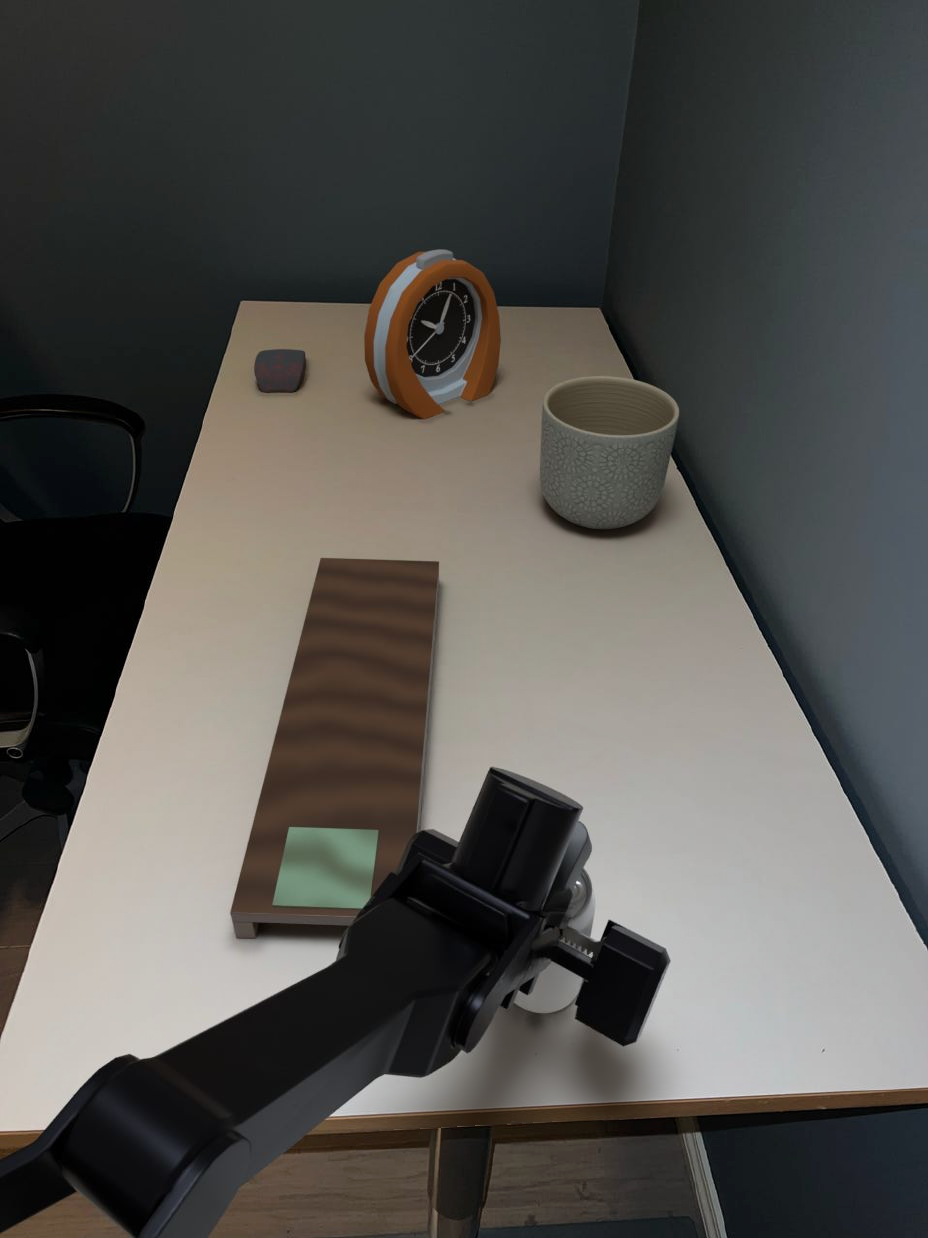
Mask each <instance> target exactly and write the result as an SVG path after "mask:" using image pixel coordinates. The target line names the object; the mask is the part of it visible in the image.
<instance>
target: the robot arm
mask: <svg viewBox="0 0 928 1238" xmlns="http://www.w3.org/2000/svg"><path fill="white" fill-rule="evenodd" d="M583 811H584V806H583V805H582V804H581V803H579V802H578V801H576V800H574V799H573V798H571V797H570V796H567V795H566V794H564V793H562V792H560V791H558V790H555V789H554V788H552V787H550V786H547V785H545V784H543V783H540V782H538V781H536V780H533V779H531V778H529V777H526V776H524V775H521V774H518V773H517V772H513V771H511V770H508V769H505V768H499V767H496V766H489V770H487V773H486V775H485V778H484V780H483V783H482V785H481V788H480V789H479V792H478V795H477V797H476V800H475V802H474V805H473V807H472V809H471V812H470V815H469V816H468V818H467V821H466V824H465V826H464V829H463V831H462V834H461V836H460V839H459V841H457V840H456V839H454V838H452V837H450V836H447V835H446V834H444V833H442V832H440V831H438V830H436V829H434V828H430V829H423V830H419V832H418V833H416V834H414V835H413V837H412V838H411V839H410V840H409V842H408V844H407V846H406V848H405V851H404V853H403V856H402V858H401V861H400V863H399V865H398V868H397V870H396V873H393V872H390V873H389V875H388V876H387V877H386V879H385V880H384V881H383V883H382V884H381V885H380V886H379V888H378V889H377V890H376V892H375V893H374V894H373V896H372V897H371V898H370V899H369V901H368V902H367V903H366V905H365V906H364V907H363V908H362V910H361V911H360V912H359V914H358V915H357V916H356V918H355V919H354V920H353V921H352V923H351V924H350V925H347V928H346V929H345V930H344V932H343V933H342V935H341V938H340V941H339V944H338V951H337V955H336V958H335V961H333V962H332V963H331V964H329V965H328V966H326V967H324V968H322V969H320V970H318V971H316V972H314V973H312V974H311V975H309V976H306V977H305V978H303V979H301V980H299V981H297V982H295V983H293V984H291V985H289V986H287V987H285V988H283V989H281V990H280V991H277V992H276V993H274V994H272V995H269V996H268V997H266V998H264V999H262V1000H260V1001H259V1002H257V1003H254V1004H253V1005H250V1006H249V1007H247V1008H245V1009H243V1010H241V1011H239V1012H237V1013H236V1014H233V1015H232V1016H230V1017H228V1018H226V1019H224V1020H222V1021H220V1022H218V1023H217V1024H214V1025H212V1026H210V1027H208V1028H207V1029H204V1030H203V1031H201V1032H199V1033H197V1034H195V1035H193V1036H191V1037H189V1038H187V1039H186V1040H182V1041H181V1042H179V1043H177V1044H176V1045H174V1046H172V1047H170V1048H168V1049H166V1050H164V1051H162V1052H160V1053H158V1054H156V1055H154V1056H150V1057H146V1058H145V1057H144V1058H139V1057H138V1056H137V1055H134V1054H131V1053H127V1054H123V1055H120V1056H116V1057H114V1058H113V1059H111V1060H110V1061H108V1062H107V1063H105V1064H104V1065H102V1066H101V1067H99V1068H98V1069H97V1070H96V1071H95V1072H94V1073H93V1074H92V1075H91V1076H90V1077H89V1078H88V1079H87V1080H86V1081H85V1082H84V1083H83V1084H82V1085H81V1086H80V1087H79V1088H78V1090H77V1091H76V1092H75V1093H74V1094H73V1095H72V1097H71V1098H70V1099H69V1100H68V1102H67V1103H66V1104H65V1105H63V1107H62V1109H61V1110H60V1111H59V1112H58V1113H57V1114H56V1116H55V1117H54V1118H53V1119H52V1120H51V1122H50V1123H49V1124H48V1125H47V1126H46V1128H45V1129H44V1130H43V1131H42V1132H41V1134H39V1136H38V1137H37V1138H36V1139H35V1140H34V1141H32V1142H31V1143H29V1144H26V1145H25V1146H23V1147H21V1148H19V1149H18V1150H15V1151H14V1152H12V1153H10V1154H8V1155H6V1156H4V1157H2V1158H1V1159H0V1235H1V1234H2V1233H4V1232H6V1231H8V1230H10V1229H12V1228H14V1227H15V1226H17V1225H19V1224H21V1223H23V1222H24V1221H27V1220H29V1219H30V1218H32V1217H34V1216H35V1215H37V1214H40V1213H41V1212H43V1211H44V1210H47V1209H49V1208H50V1207H52V1206H54V1205H55V1204H58V1203H59V1202H61V1201H63V1200H64V1199H67V1198H68V1197H70V1196H71V1195H74V1194H76V1193H78V1194H80V1195H81V1196H82V1197H83V1198H84V1199H86V1200H87V1201H88V1202H89V1203H90V1204H91V1205H92V1206H94V1207H95V1208H96V1209H97V1210H98V1211H99V1212H100V1213H101V1214H102V1215H104V1216H105V1217H106V1218H108V1219H109V1220H110V1221H111V1222H112V1223H113V1224H115V1225H116V1226H117V1227H118V1228H119V1229H120V1230H121V1231H122V1232H124V1233H125V1234H126V1235H127V1236H129V1237H130V1238H209V1236H210V1235H211V1234H212V1232H213V1231H214V1229H215V1228H216V1226H217V1225H218V1223H219V1222H220V1220H221V1219H222V1218H223V1216H224V1214H225V1213H226V1211H227V1210H228V1208H229V1206H230V1205H231V1203H232V1201H233V1200H234V1198H235V1196H236V1195H237V1193H238V1192H239V1190H240V1188H241V1187H243V1186H244V1185H245V1184H247V1183H248V1182H249V1181H250V1180H251V1179H253V1178H254V1177H255V1176H257V1175H258V1174H259V1173H260V1172H261V1171H263V1170H264V1169H265V1168H266V1167H268V1166H269V1165H270V1164H272V1163H273V1162H274V1161H275V1160H276V1159H278V1158H279V1157H280V1156H282V1155H283V1154H284V1153H285V1152H287V1151H288V1150H289V1149H290V1148H292V1147H293V1146H294V1145H295V1144H296V1143H298V1142H299V1141H300V1140H301V1139H303V1138H304V1137H305V1136H307V1135H308V1134H309V1133H310V1132H312V1131H313V1130H314V1129H315V1128H316V1127H318V1126H319V1125H320V1124H322V1123H323V1122H324V1121H326V1120H327V1119H328V1118H329V1117H330V1116H331V1115H333V1114H334V1113H336V1111H338V1110H339V1109H340V1108H342V1107H343V1106H344V1105H346V1104H347V1103H348V1102H349V1101H351V1100H352V1099H353V1098H354V1097H355V1096H357V1095H358V1094H359V1093H361V1092H362V1091H363V1090H364V1089H365V1088H366V1087H368V1086H369V1085H371V1084H372V1083H373V1082H374V1081H376V1080H377V1079H378V1078H380V1077H382V1076H384V1075H387V1076H388V1075H389V1076H398V1077H409V1078H417V1079H418V1078H420V1079H421V1078H425V1077H428V1076H430V1075H432V1074H434V1073H435V1072H437V1071H438V1070H440V1069H441V1068H444V1067H445V1066H446V1065H448V1064H449V1063H451V1062H452V1061H453V1060H455V1059H456V1057H457V1056H458V1055H459V1054H460V1053H461V1052H463V1053H465V1054H469V1053H471V1052H472V1051H473V1050H474V1049H475V1048H476V1047H477V1045H478V1044H479V1043H480V1041H481V1040H482V1038H483V1036H484V1035H485V1033H486V1031H487V1030H488V1028H489V1026H490V1025H491V1023H492V1021H493V1019H494V1017H495V1015H496V1014H497V1012H498V1010H499V1008H500V1007H501V1008H503V1009H504V1010H509V1009H510V1008H512V1007H513V1005H514V1004H515V1003H514V1000H515V998H516V995H517V993H518V990H519V991H520V992H522V993H524V994H526V995H529V994H530V993H532V991H533V988H534V986H535V983H536V981H537V978H538V976H539V974H540V973H541V972H542V971H543V970H545V969H546V968H547V967H548V966H549V965H550V963H551V962H554V963H556V964H558V965H560V966H562V967H563V968H565V969H567V970H569V971H571V972H573V973H574V974H576V975H578V976H580V977H582V978H583V979H582V983H581V987H580V990H579V993H578V994H577V996H576V998H575V1002H574V1006H576V1010H575V1016H574V1020H576V1021H578V1022H579V1023H581V1024H583V1025H585V1026H586V1027H588V1028H589V1029H592V1030H593V1031H595V1032H597V1033H599V1034H600V1035H602V1036H604V1037H606V1038H607V1039H609V1040H611V1041H612V1042H615V1043H616V1044H618V1045H620V1046H621V1047H624V1048H625V1047H627V1046H629V1045H633V1044H635V1043H637V1041H638V1040H639V1038H640V1037H641V1036H642V1034H643V1031H644V1028H645V1027H646V1024H647V1021H648V1018H649V1017H650V1014H651V1012H652V1009H653V1007H654V1004H655V1001H656V999H657V996H658V993H659V991H660V989H661V986H662V984H663V982H664V980H665V977H666V974H667V971H668V968H669V966H670V964H671V962H672V961H671V958H670V955H669V953H668V951H667V948H666V947H664V946H662V945H660V944H658V943H657V942H654V941H653V940H650V939H648V938H647V937H644V936H642V935H641V934H638V933H637V932H635V931H634V930H633V931H632V930H631V929H629V928H628V927H625V926H624V925H622V924H619V923H617V922H616V921H614V920H612V919H608V920H607V923H606V925H605V927H604V930H603V932H602V935H601V937H600V940H596V939H595V938H593V937H589V936H587V935H585V934H583V933H581V932H579V931H577V930H576V929H574V928H572V927H570V926H568V923H569V920H570V918H571V915H572V913H573V910H574V908H573V907H571V906H569V905H570V903H571V900H572V898H573V893H572V890H573V888H574V886H575V884H576V882H577V880H578V878H579V876H580V874H581V872H582V870H583V868H584V869H585V866H586V864H587V862H588V861H589V860H590V856H591V855H592V852H593V844H592V841H591V837H590V835H589V832H588V829H587V827H586V825H585V824H584V823H583V822H582V821H580V818H581V815H582V813H583ZM563 938H565V943H568V941H569V940H570V946H573V945H574V944H575V943H576V949H578V948H579V947H580V946H581V952H580V951H578V950H576V949H574V948H572V947H570V946H569V945H567V944H565V943H563V942H561V941H559V940H562V939H563ZM586 949H587V955H585V954H584V953H582V952H584V951H585V950H586ZM590 954H592V957H591V956H590Z"/></svg>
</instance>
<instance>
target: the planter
mask: <svg viewBox="0 0 928 1238" xmlns="http://www.w3.org/2000/svg"><path fill="white" fill-rule="evenodd" d="M679 418H680V407H679V405H678V404H677V402H676V400H675V399H674V398H673V397H672V396H671V395H670V394H669V393H667V392H665V391H664V390H662V389H661V388H659V387H658V386H657V387H656V386H655V385H653V384H650V383H647V382H643V381H641V380H638V379H637V380H636V379H632V378H627V377H621V376H611V375H590V376H589V375H588V376H582V377H581V376H580V377H575V378H571V379H567V380H564V381H562V382H559V383H557V384H555V385H554V386H552V387H551V388H549V389H548V390H547V392H546V393H545V394H544V396H543V399H542V407H541V422H540V423H541V427H540V452H539V453H540V454H539V482H540V483H539V484H540V488H541V492H542V495H543V498H544V499H545V501H546V502H547V504H548V505H549V507H550V508H551V509H552V510H553V511H554V512H555V513H557V514H558V515H559V516H560V517H562V518H563V519H565V520H566V521H568V522H570V523H572V524H575V525H577V526H580V527H584V528H588V529H594V530H614V529H619V528H624V527H627V526H630V525H632V524H634V523H636V522H638V521H640V520H642V519H643V518H645V517H646V516H647V515H648V514H649V513H651V511H652V510H653V509H654V508H655V506H656V505H657V504H658V502H659V500H660V498H661V497H662V492H663V489H664V486H665V482H666V479H667V473H668V470H669V465H670V461H671V460H670V459H671V455H672V451H673V448H674V442H675V438H676V433H677V429H678V424H679Z"/></svg>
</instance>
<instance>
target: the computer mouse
mask: <svg viewBox="0 0 928 1238" xmlns="http://www.w3.org/2000/svg"><path fill="white" fill-rule="evenodd" d="M305 367H306V352H305V350H302V349H290V348H274V349H263V350H260V351H259V352H258V353H257V354H256V357H255V359H254V365H253V372H254V377H255V380H256V382H257V384H258V387H259V388H260V390H261V392H263V393H294V392H296V391H297V390H298V389H299V387H300V386H301V384H302V382H303V378H304V374H305V369H306V368H305Z"/></svg>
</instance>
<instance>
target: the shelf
mask: <svg viewBox="0 0 928 1238" xmlns="http://www.w3.org/2000/svg"><path fill="white" fill-rule="evenodd" d="M439 592H440V561H437V560H435V561H434V560H408V559H378V558H377V559H375V558H374V559H373V558H372V559H371V558H346V557H345V558H343V557H342V558H340V557H336V558H335V557H320V558H319V563H318V567H317V570H316V575H315V577H314V582H313V587H312V590H311V593H310V598H309V602H308V606H307V610H306V614H305V617H304V618H305V619H304V621H303V625H302V629H301V633H300V637H299V641H298V645H297V649H296V652H295V656H294V659H293V660H294V661H293V664H292V669H291V673H290V677H289V680H288V685H287V687H286V691H285V696H284V700H283V704H282V706H281V712H280V716H279V719H278V723H277V727H276V731H275V735H274V739H273V744H272V746H271V750H270V755H269V759H268V762H267V766H266V771H265V774H264V779H263V782H262V786H261V790H260V794H259V799H258V802H257V806H256V809H255V813H254V817H253V822H252V825H251V828H250V833H249V837H248V841H247V845H246V849H245V853H244V857H243V861H242V864H241V869H240V872H239V876H238V880H237V884H236V887H235V893H234V896H233V900H232V904H231V908H230V912H229V915H230V919H231V923H232V926H233V930H234V934H235V938H237V939H256V938H257V934H258V930H259V926H260V923H267V924H293V925H294V924H296V925H324V926H349V925H350V924H351V923H352V921H353V920H354V919H355V918H356V916H357V915H358V914H359V912H360V911H361V910H362V908H363V907H364V906H365V905H366V903H367V902H368V901H369V899H370V898H371V897H372V896H373V894H374V893H375V892H376V890H377V889H378V888H379V886H380V885H381V884H382V883H383V881H384V880H385V879H386V877H387V876H388V875H389V873H390V872H393V873H396V870H397V868H398V865H399V863H400V861H401V858H402V856H403V853H404V851H405V848H406V846H407V844H408V842H409V840H410V839H411V838H412V837H413V835H414V834H416V833H418V832H420V825H421V815H422V802H423V790H424V777H425V764H426V752H427V741H428V729H429V727H428V726H429V715H430V703H431V689H432V680H433V679H432V678H433V668H434V667H433V665H434V653H435V642H436V629H437V628H436V627H437V616H438V615H437V614H438V602H439Z"/></svg>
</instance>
